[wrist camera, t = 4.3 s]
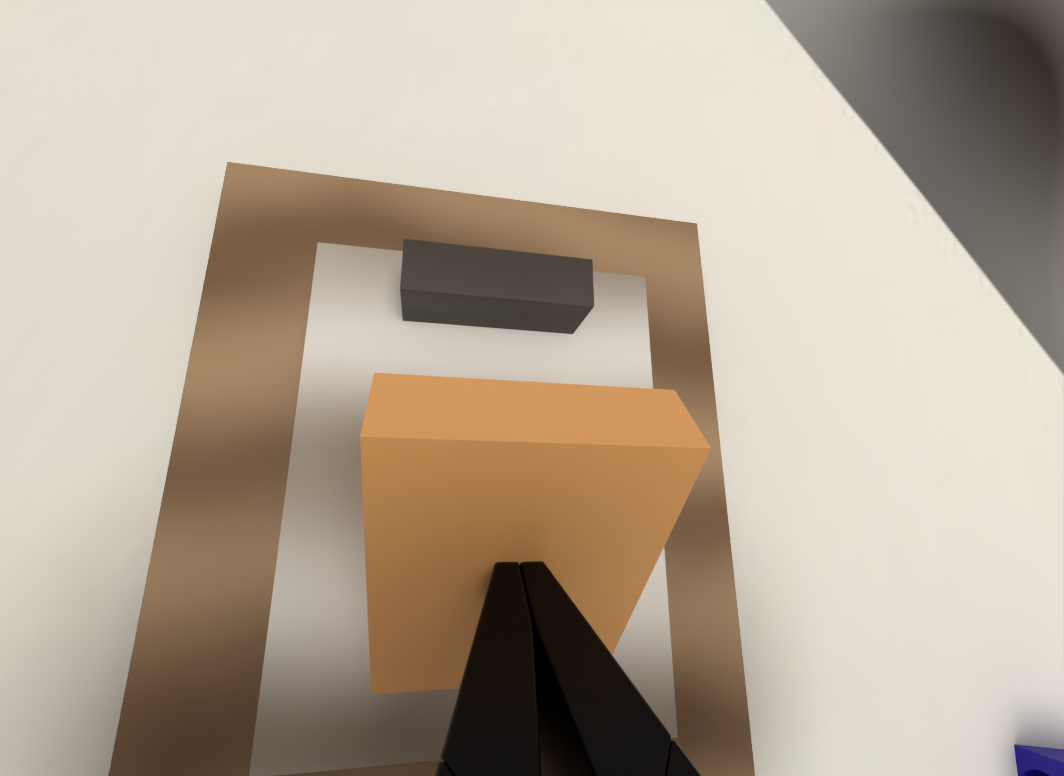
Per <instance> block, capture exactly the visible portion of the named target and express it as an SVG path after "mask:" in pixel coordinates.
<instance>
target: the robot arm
mask: <svg viewBox="0 0 1064 776" xmlns="http://www.w3.org/2000/svg"><path fill="white" fill-rule="evenodd" d="M434 776H702V775H701V774H700V773H699V771H698V770H697V769H696V767H695V766H694V765H693V764H692V762H691V761H690V759H689V758H688V757H687V755H686V754H685V753H684V751H683V750H682V749H681V747H680V746H679V744H678V743H677V742H676V741H675V740H671V734H670V732H669V731H668V730H667V728H666V727H665V726H664V724H663V723H662V722H661V720H660V719H659V718H658V716H657V715H656V713H655V712H654V711H653V709H652V708H651V707H650V705H649V704H648V703H647V701H646V700H645V699H644V697H643V696H642V694H641V693H640V692H639V690H638V689H637V688H636V686H635V685H634V684H633V682H632V681H631V680H630V678H629V677H628V675H627V674H626V673H625V671H624V670H623V669H622V667H621V666H620V665H619V663H618V662H617V661H616V659H615V658H614V656H613V655H612V654H611V652H610V651H609V650H608V648H607V647H606V646H605V644H604V643H603V642H602V640H601V639H600V637H599V636H598V635H597V633H596V632H595V631H594V629H593V628H592V627H591V625H590V624H589V623H588V621H587V620H586V619H585V617H584V616H583V614H582V613H581V612H580V610H579V609H578V608H577V606H576V605H575V604H574V602H573V601H572V600H571V598H570V597H569V595H568V594H567V593H566V591H565V590H564V589H563V587H562V586H561V585H560V583H559V582H558V581H557V579H556V578H555V576H554V575H553V574H552V572H551V571H550V570H549V568H548V567H547V566H546V564H545V563H544V562H543V561H530V562H521V563H520V564H519V563H518V562H497V563H495V564H494V567H493V571H492V574H491V578H490V581H489V585H488V589H487V592H486V596H485V599H484V603H483V606H482V610H481V613H480V617H479V621H478V624H477V628H476V631H475V635H474V638H473V642H472V645H471V649H470V652H469V656H468V660H467V663H466V667H465V670H464V674H463V677H462V681H461V684H460V688H459V691H458V695H457V699H456V702H455V706H454V709H453V713H452V716H451V720H450V723H449V727H448V730H447V734H446V738H445V741H444V745H443V748H442V752H441V755H440V762H439V763H438V765H437V768H436V772H435V775H434Z"/></svg>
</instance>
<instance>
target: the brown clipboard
mask: <svg viewBox="0 0 1064 776" xmlns="http://www.w3.org/2000/svg"><path fill="white" fill-rule="evenodd" d="M374 373H389V374H406V375H424V376H441V377H458V378H476V379H493V380H511V381H528V382H545V383H563V384H580V385H597V386H615V387H632V388H649V389H667V390H675V391H676V393H677V394H678V396H679V398H680V399H681V401H682V402H683V404H684V406H685V407H686V409H687V410H688V412H689V414H690V415H691V417H692V418H693V420H694V422H695V423H696V425H697V426H698V428H699V429H700V431H701V433H702V434H703V436H704V437H705V439H706V441H707V442H708V444H709V445H710V447H711V450H710V452H709V454H708V456H707V458H706V460H705V462H704V464H703V467H702V469H701V471H700V473H699V475H698V477H697V479H696V481H695V483H694V485H693V487H692V490H691V492H690V494H689V496H688V498H687V500H686V502H685V504H684V506H683V508H682V510H681V513H680V515H679V517H678V519H677V521H676V523H675V525H674V527H673V529H672V531H671V533H670V536H669V538H668V540H667V542H666V544H665V546H664V548H663V550H662V552H661V554H660V556H659V558H658V561H657V563H656V565H655V567H654V569H653V571H652V573H651V575H650V577H649V579H648V581H647V584H646V586H645V588H644V590H643V592H642V594H641V596H640V598H639V600H638V602H637V604H636V607H635V609H634V611H633V613H632V615H631V617H630V619H629V621H628V623H627V625H626V627H625V630H624V632H623V634H622V636H621V638H620V640H619V642H618V644H617V646H616V648H615V650H614V652H613V656H614V658H615V659H616V661H617V662H618V663H619V665H620V666H621V667H622V669H623V670H624V671H625V673H626V674H627V675H628V677H629V678H630V680H631V681H632V682H633V684H634V685H635V686H636V688H637V689H638V690H639V692H640V693H641V694H642V696H643V697H644V699H645V700H646V701H647V703H648V704H649V705H650V707H651V708H652V709H653V711H654V712H655V713H656V715H657V716H658V718H659V719H660V720H661V722H662V723H663V724H664V726H665V727H666V728H667V730H668V731H669V732H670V734H671V740H675V741H676V742H677V743H678V744H679V746H680V747H681V749H682V750H683V751H684V753H685V754H686V755H687V757H688V758H689V759H690V761H691V762H692V764H693V765H694V766H695V767H696V769H697V770H698V771H699V773H700V774H701V775H702V776H755V772H754V763H753V753H752V744H751V734H750V725H749V715H748V705H747V696H746V686H745V677H744V667H743V658H742V648H741V639H740V629H739V620H738V610H737V601H736V591H735V582H734V572H733V563H732V553H731V544H730V534H729V525H728V515H727V506H726V496H725V487H724V477H723V468H722V458H721V449H720V439H719V430H718V420H717V411H716V401H715V392H714V382H713V373H712V363H711V353H710V344H709V334H708V325H707V315H706V306H705V296H704V287H703V277H702V268H701V258H700V249H699V239H698V230H697V224H695V223H688V222H680V221H673V220H665V219H657V218H650V217H642V216H635V215H627V214H619V213H612V212H604V211H597V210H589V209H581V208H574V207H566V206H558V205H551V204H543V203H536V202H528V201H520V200H513V199H505V198H498V197H490V196H482V195H475V194H467V193H460V192H452V191H444V190H437V189H429V188H421V187H414V186H406V185H399V184H391V183H383V182H376V181H368V180H361V179H353V178H345V177H338V176H330V175H323V174H315V173H307V172H300V171H292V170H285V169H277V168H269V167H262V166H254V165H246V164H239V163H231V162H227V167H226V172H225V178H224V183H223V188H222V193H221V198H220V203H219V208H218V214H217V219H216V224H215V229H214V234H213V239H212V245H211V250H210V255H209V260H208V265H207V270H206V276H205V281H204V286H203V291H202V296H201V301H200V307H199V312H198V317H197V322H196V327H195V332H194V338H193V343H192V348H191V353H190V358H189V363H188V369H187V374H186V379H185V384H184V389H183V394H182V400H181V405H180V410H179V415H178V420H177V425H176V431H175V436H174V441H173V446H172V451H171V456H170V462H169V467H168V472H167V477H166V482H165V487H164V492H163V498H162V503H161V508H160V513H159V518H158V523H157V529H156V534H155V539H154V544H153V549H152V554H151V560H150V565H149V570H148V575H147V580H146V585H145V591H144V596H143V601H142V606H141V611H140V616H139V622H138V627H137V632H136V637H135V642H134V647H133V653H132V658H131V663H130V668H129V673H128V678H127V684H126V689H125V694H124V699H123V704H122V709H121V715H120V720H119V725H118V730H117V735H116V740H115V746H114V751H113V756H112V761H111V766H110V771H109V776H434V775H435V772H436V768H437V765H438V763H439V762H440V755H441V752H442V748H443V745H444V741H445V738H446V734H447V730H448V727H449V723H450V720H451V716H452V713H453V709H454V706H455V702H456V699H457V695H458V691H459V689H444V690H429V691H414V692H399V693H384V694H371V681H370V657H369V634H368V611H367V588H366V564H365V541H364V518H363V495H362V471H361V448H360V434H361V430H362V425H363V421H364V416H365V412H366V407H367V403H368V398H369V394H370V389H371V385H372V380H373V376H374Z"/></svg>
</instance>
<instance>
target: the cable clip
mask: <svg viewBox="0 0 1064 776" xmlns="http://www.w3.org/2000/svg"><path fill="white" fill-rule="evenodd" d="M1014 747H1015V755H1016V764H1017V772H1018V776H1064V750H1061V749H1052V748H1042V747H1032V746H1023V745H1014Z"/></svg>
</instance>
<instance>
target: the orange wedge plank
mask: <svg viewBox="0 0 1064 776" xmlns="http://www.w3.org/2000/svg"><path fill="white" fill-rule="evenodd" d="M360 448H361V471H362V495H363V518H364V541H365V564H366V588H367V611H368V634H369V657H370V681H371V694H384V693H399V692H414V691H429V690H444V689H459V688H460V684H461V681H462V677H463V674H464V670H465V667H466V663H467V660H468V656H469V652H470V649H471V645H472V642H473V638H474V635H475V631H476V628H477V624H478V621H479V617H480V613H481V610H482V606H483V603H484V599H485V596H486V592H487V589H488V585H489V581H490V578H491V574H492V571H493V567H494V564H495V563H497V562H518V563H519V564H520V563H521V562H530V561H543V562H544V563H545V564H546V566H547V567H548V568H549V570H550V571H551V572H552V574H553V575H554V576H555V578H556V579H557V581H558V582H559V583H560V585H561V586H562V587H563V589H564V590H565V591H566V593H567V594H568V595H569V597H570V598H571V600H572V601H573V602H574V604H575V605H576V606H577V608H578V609H579V610H580V612H581V613H582V614H583V616H584V617H585V619H586V620H587V621H588V623H589V624H590V625H591V627H592V628H593V629H594V631H595V632H596V633H597V635H598V636H599V637H600V639H601V640H602V642H603V643H604V644H605V646H606V647H607V648H608V650H609V651H610V652H611V654H612V655H613V652H614V650H615V648H616V646H617V644H618V642H619V640H620V638H621V636H622V634H623V632H624V630H625V627H626V625H627V623H628V621H629V619H630V617H631V615H632V613H633V611H634V609H635V607H636V604H637V602H638V600H639V598H640V596H641V594H642V592H643V590H644V588H645V586H646V584H647V581H648V579H649V577H650V575H651V573H652V571H653V569H654V567H655V565H656V563H657V561H658V558H659V556H660V554H661V552H662V550H663V548H664V546H665V544H666V542H667V540H668V538H669V536H670V533H671V531H672V529H673V527H674V525H675V523H676V521H677V519H678V517H679V515H680V513H681V510H682V508H683V506H684V504H685V502H686V500H687V498H688V496H689V494H690V492H691V490H692V487H693V485H694V483H695V481H696V479H697V477H698V475H699V473H700V471H701V469H702V467H703V464H704V462H705V460H706V458H707V456H708V454H709V452H710V450H711V447H710V445H709V444H708V442H707V441H706V439H705V437H704V436H703V434H702V433H701V431H700V429H699V428H698V426H697V425H696V423H695V422H694V420H693V418H692V417H691V415H690V414H689V412H688V410H687V409H686V407H685V406H684V404H683V402H682V401H681V399H680V398H679V396H678V394H677V393H676V391H675V390H667V389H649V388H632V387H615V386H597V385H580V384H563V383H545V382H528V381H511V380H493V379H476V378H458V377H441V376H424V375H406V374H389V373H374V376H373V380H372V385H371V389H370V394H369V398H368V403H367V407H366V412H365V416H364V421H363V425H362V430H361V434H360Z"/></svg>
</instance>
